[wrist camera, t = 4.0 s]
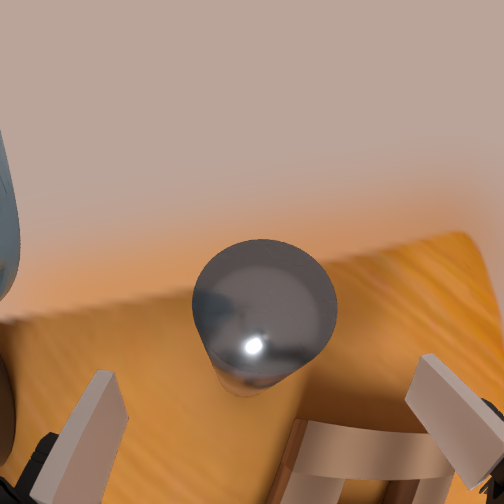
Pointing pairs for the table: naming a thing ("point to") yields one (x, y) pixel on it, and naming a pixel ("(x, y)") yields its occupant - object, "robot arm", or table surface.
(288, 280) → the peg
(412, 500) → the square block with hole
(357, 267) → the table surface
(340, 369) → the table surface
